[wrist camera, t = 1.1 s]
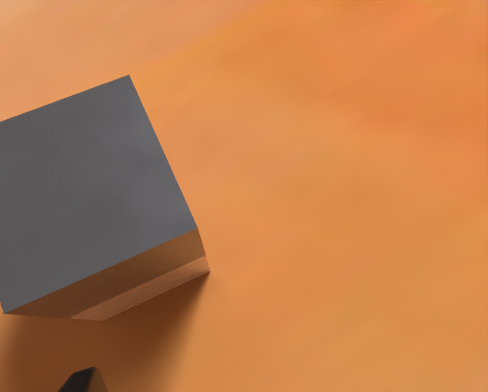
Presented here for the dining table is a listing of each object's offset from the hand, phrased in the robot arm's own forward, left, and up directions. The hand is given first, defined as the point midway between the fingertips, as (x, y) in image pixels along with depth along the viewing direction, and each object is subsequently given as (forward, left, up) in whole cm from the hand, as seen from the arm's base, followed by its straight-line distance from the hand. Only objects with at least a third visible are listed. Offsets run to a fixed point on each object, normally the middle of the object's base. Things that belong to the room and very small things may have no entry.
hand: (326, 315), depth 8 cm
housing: (-3, +7, -14) cm, 16 cm away
